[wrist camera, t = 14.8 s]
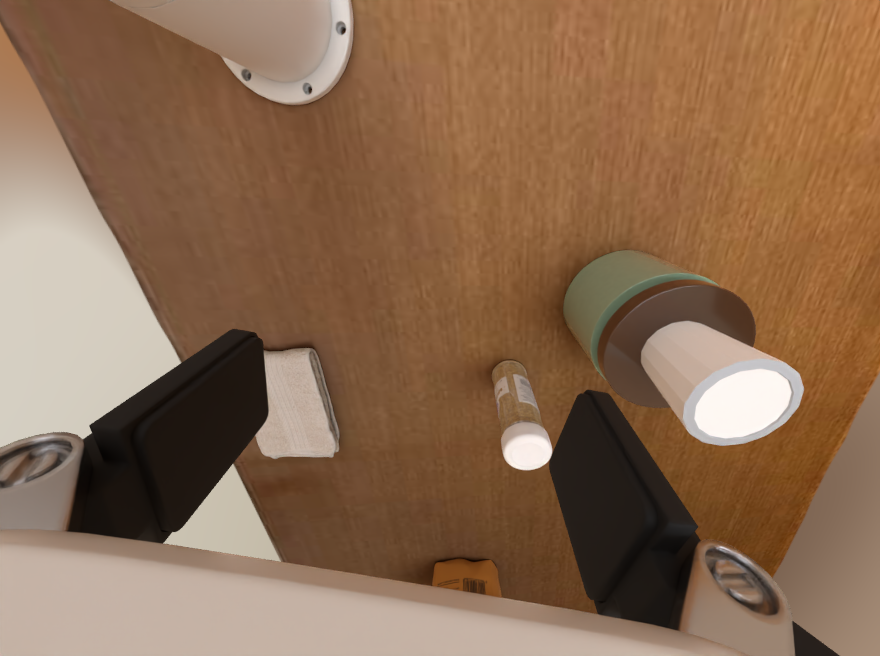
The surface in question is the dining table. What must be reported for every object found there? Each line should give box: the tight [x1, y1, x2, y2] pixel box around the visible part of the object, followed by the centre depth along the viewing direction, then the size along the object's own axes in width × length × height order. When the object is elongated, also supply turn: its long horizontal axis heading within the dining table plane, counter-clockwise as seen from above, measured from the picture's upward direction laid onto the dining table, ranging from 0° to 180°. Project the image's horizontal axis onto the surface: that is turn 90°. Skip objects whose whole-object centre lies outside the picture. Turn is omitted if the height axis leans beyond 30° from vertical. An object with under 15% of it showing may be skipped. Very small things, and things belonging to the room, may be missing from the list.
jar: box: [563, 250, 756, 408], centre depth 32 cm, size 12×12×12 cm
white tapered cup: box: [641, 321, 804, 446], centre depth 24 cm, size 7×7×7 cm
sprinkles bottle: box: [492, 360, 552, 470], centre depth 36 cm, size 5×5×13 cm
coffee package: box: [432, 559, 502, 598], centre depth 52 cm, size 10×12×22 cm
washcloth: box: [255, 348, 340, 459], centre depth 45 cm, size 12×18×3 cm, turn 6°
